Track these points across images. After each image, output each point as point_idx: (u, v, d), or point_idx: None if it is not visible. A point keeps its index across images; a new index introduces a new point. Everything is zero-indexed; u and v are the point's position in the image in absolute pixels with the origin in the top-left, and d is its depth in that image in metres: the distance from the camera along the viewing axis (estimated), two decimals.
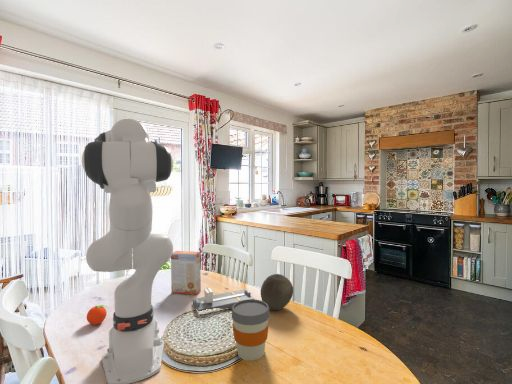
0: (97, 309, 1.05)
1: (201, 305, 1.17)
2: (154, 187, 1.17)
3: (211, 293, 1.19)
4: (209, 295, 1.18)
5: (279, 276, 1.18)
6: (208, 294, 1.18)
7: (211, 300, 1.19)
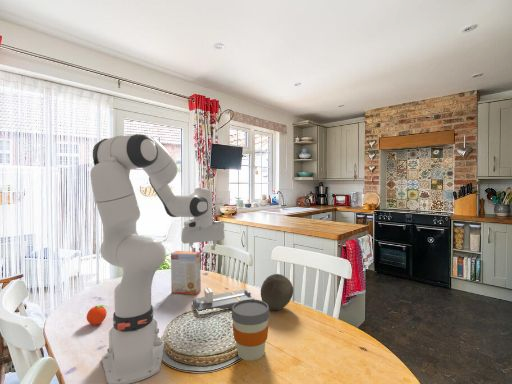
0: (97, 309, 1.05)
1: (201, 305, 1.17)
2: None
3: (211, 293, 1.19)
4: (209, 295, 1.18)
5: (279, 276, 1.18)
6: (208, 294, 1.18)
7: (211, 300, 1.19)
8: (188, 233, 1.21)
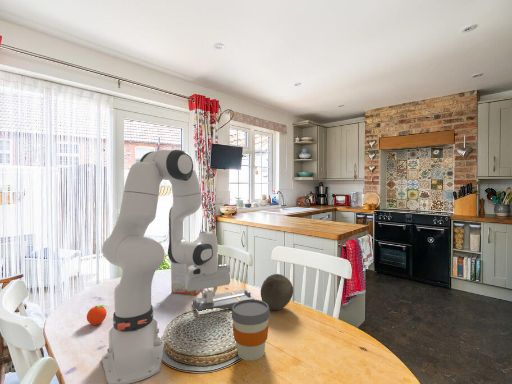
0: (97, 309, 1.05)
1: (201, 305, 1.17)
2: None
3: (211, 293, 1.19)
4: (209, 295, 1.18)
5: (279, 276, 1.18)
6: (208, 294, 1.18)
7: (211, 300, 1.19)
8: (192, 280, 1.15)
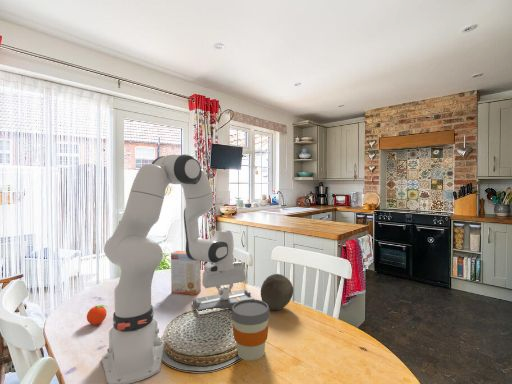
0: (97, 309, 1.05)
1: (201, 305, 1.17)
2: None
3: (227, 290, 1.22)
4: (225, 292, 1.21)
5: (279, 276, 1.18)
6: (224, 291, 1.21)
7: (227, 297, 1.22)
8: (209, 277, 1.19)
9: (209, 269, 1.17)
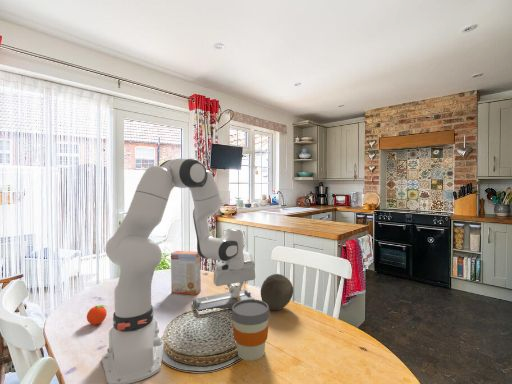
0: (97, 309, 1.06)
1: (201, 305, 1.17)
2: None
3: (238, 288, 1.24)
4: (236, 290, 1.24)
5: (279, 276, 1.18)
6: (235, 289, 1.23)
7: (238, 295, 1.24)
8: (220, 275, 1.21)
9: (220, 267, 1.20)
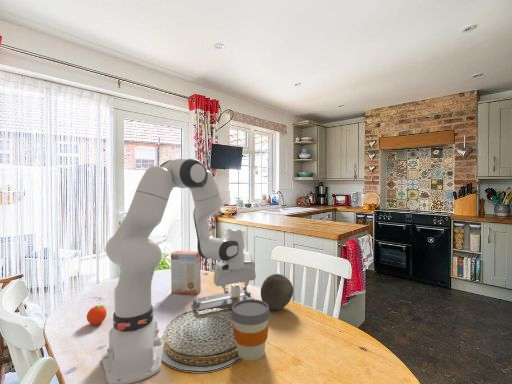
0: (97, 309, 1.06)
1: (201, 305, 1.17)
2: None
3: (238, 288, 1.24)
4: (236, 290, 1.24)
5: (279, 276, 1.18)
6: (236, 289, 1.23)
7: (238, 295, 1.24)
8: (221, 275, 1.21)
9: (221, 267, 1.20)
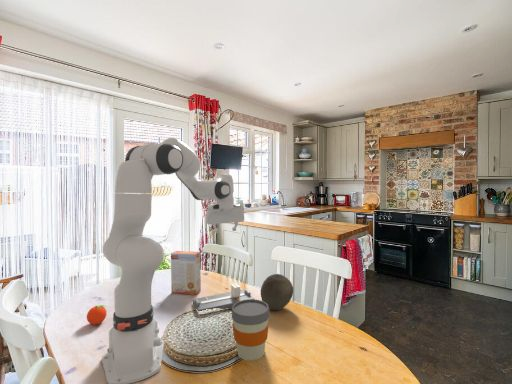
0: (97, 309, 1.06)
1: (201, 305, 1.17)
2: None
3: (238, 288, 1.24)
4: (236, 290, 1.24)
5: (279, 276, 1.18)
6: (236, 289, 1.23)
7: (238, 295, 1.24)
8: (212, 214, 1.33)
9: (212, 207, 1.31)
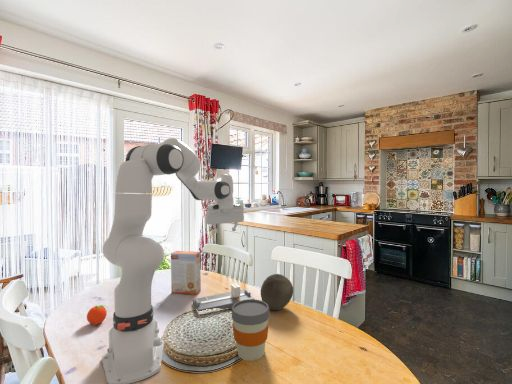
0: (97, 309, 1.06)
1: (201, 305, 1.17)
2: None
3: (238, 288, 1.24)
4: (236, 290, 1.24)
5: (279, 276, 1.18)
6: (236, 289, 1.23)
7: (238, 295, 1.24)
8: (211, 214, 1.33)
9: (211, 207, 1.32)
